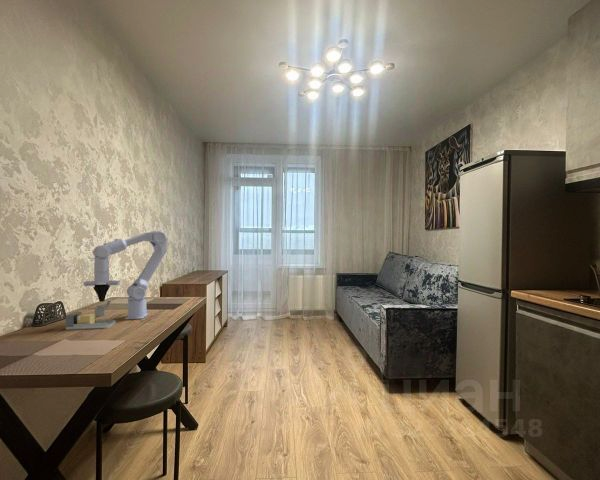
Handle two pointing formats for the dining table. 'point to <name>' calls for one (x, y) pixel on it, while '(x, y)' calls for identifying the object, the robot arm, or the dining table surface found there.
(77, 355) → the dining table surface
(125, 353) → the dining table surface
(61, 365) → the dining table surface
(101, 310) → the lighter
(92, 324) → the grey flat tray
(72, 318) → the anvil
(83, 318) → the block
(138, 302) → the robot arm
